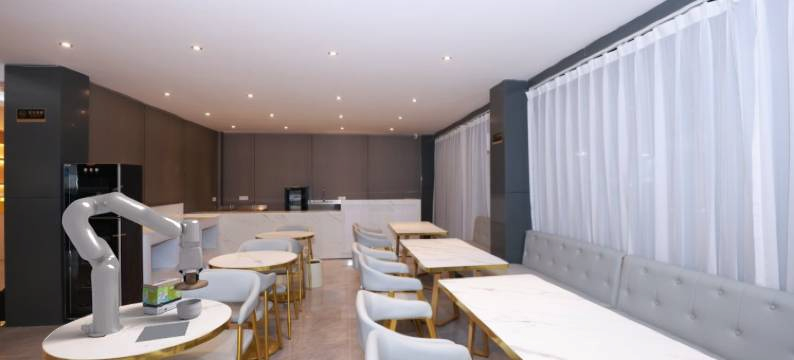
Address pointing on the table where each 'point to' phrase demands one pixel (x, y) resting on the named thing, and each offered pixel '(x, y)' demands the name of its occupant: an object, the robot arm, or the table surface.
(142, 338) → the slate mat
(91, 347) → the table surface
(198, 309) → the teacup
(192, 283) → the walnut lid
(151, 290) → the tea box
